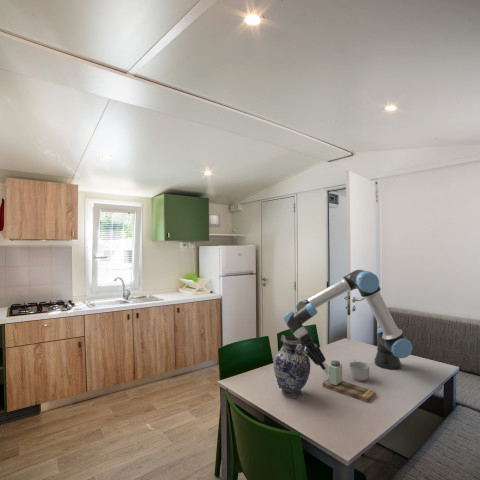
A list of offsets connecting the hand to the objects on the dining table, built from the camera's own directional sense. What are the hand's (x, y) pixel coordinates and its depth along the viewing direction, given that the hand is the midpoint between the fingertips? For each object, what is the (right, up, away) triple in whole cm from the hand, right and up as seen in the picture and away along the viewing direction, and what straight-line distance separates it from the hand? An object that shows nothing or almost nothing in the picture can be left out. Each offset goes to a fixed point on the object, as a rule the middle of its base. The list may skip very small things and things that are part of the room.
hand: (329, 374), depth 170 cm
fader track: (+8, -6, -7) cm, 12 cm away
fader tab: (+3, -3, -2) cm, 5 cm away
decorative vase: (-22, -6, -9) cm, 24 cm away
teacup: (+19, -6, +9) cm, 22 cm away
